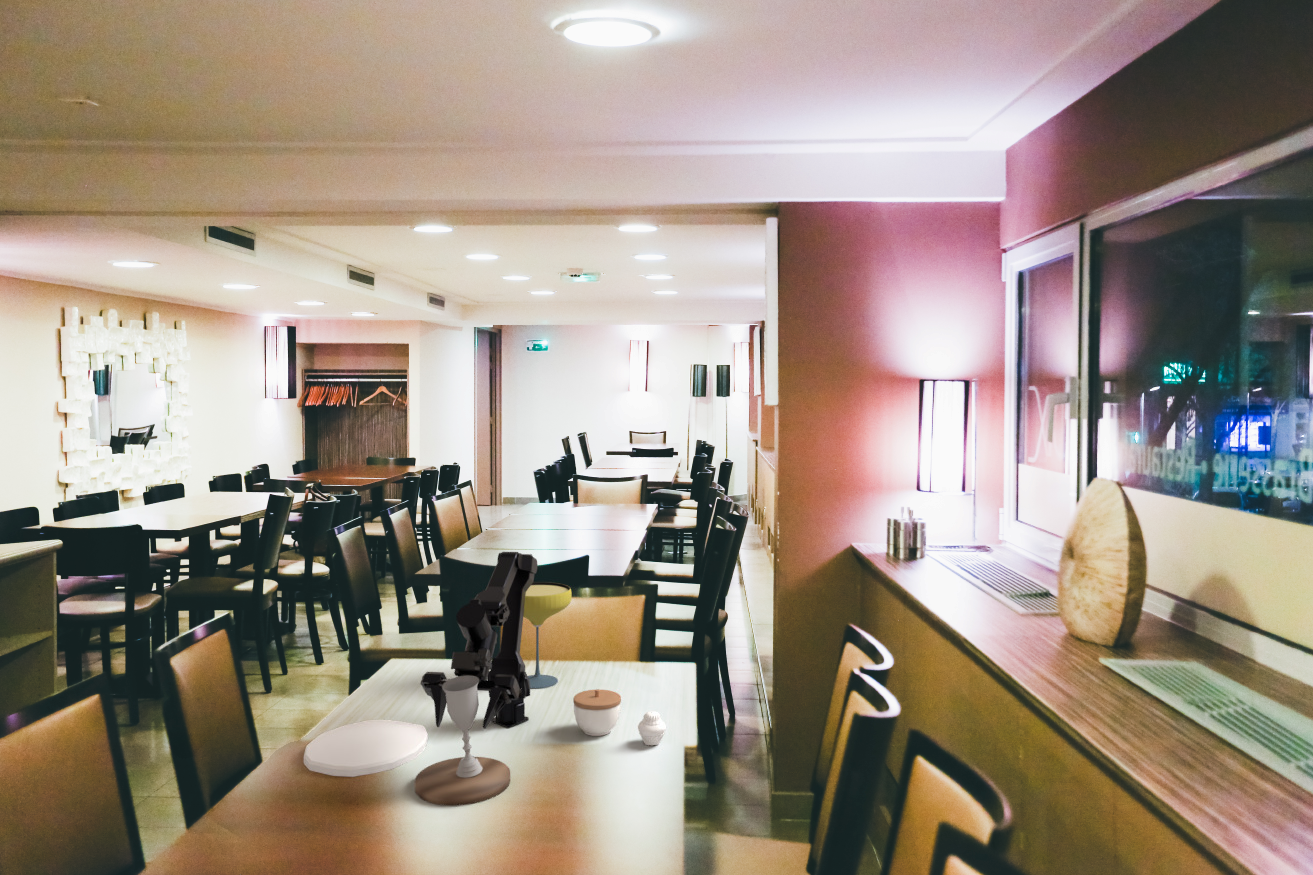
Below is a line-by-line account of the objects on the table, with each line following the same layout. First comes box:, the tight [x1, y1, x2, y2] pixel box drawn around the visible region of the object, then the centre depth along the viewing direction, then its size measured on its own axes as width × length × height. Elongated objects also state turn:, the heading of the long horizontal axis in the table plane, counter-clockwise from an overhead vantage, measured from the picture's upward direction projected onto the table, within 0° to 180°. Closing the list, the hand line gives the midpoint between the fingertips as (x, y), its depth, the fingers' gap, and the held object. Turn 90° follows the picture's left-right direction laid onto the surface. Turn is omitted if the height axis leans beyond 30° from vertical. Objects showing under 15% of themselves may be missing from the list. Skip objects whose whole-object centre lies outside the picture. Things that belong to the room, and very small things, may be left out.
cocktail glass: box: [523, 581, 573, 690], centre depth 222 cm, size 18×18×25 cm
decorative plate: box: [303, 718, 429, 778], centre depth 178 cm, size 25×4×25 cm
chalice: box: [442, 675, 483, 778], centre depth 162 cm, size 7×7×18 cm
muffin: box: [637, 710, 667, 746], centre depth 182 cm, size 6×6×7 cm
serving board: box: [414, 756, 511, 806], centre depth 162 cm, size 18×18×2 cm
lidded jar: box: [572, 688, 622, 737], centre depth 189 cm, size 11×11×9 cm
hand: (460, 726), depth 160 cm, fingers open, 9 cm apart
